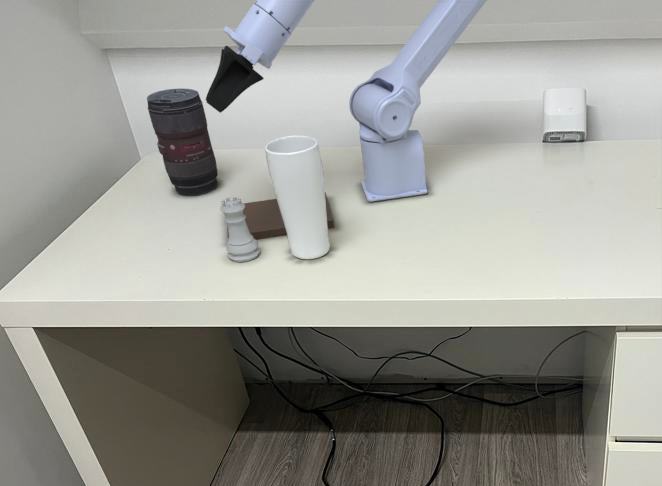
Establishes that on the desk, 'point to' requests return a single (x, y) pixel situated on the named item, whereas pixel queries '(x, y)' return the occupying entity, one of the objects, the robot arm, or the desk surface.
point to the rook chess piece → (238, 232)
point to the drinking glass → (300, 193)
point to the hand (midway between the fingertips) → (212, 106)
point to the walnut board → (271, 218)
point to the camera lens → (184, 140)
